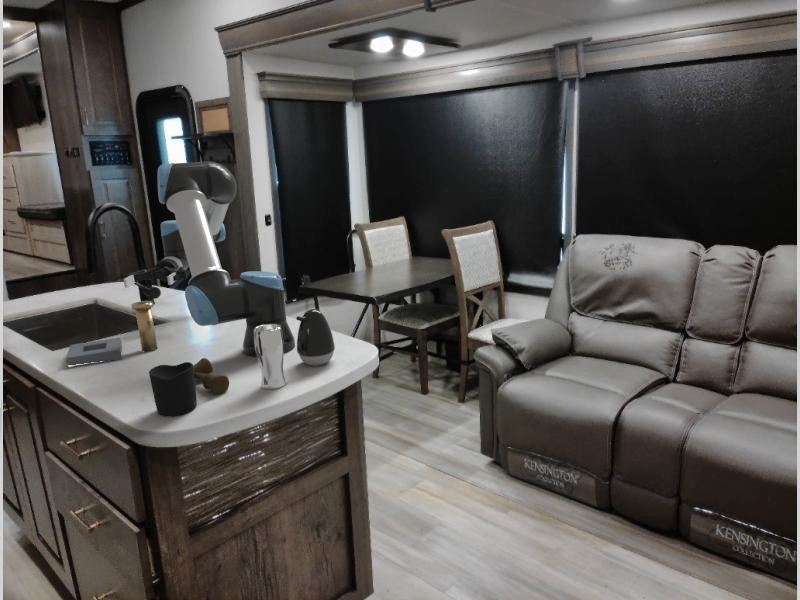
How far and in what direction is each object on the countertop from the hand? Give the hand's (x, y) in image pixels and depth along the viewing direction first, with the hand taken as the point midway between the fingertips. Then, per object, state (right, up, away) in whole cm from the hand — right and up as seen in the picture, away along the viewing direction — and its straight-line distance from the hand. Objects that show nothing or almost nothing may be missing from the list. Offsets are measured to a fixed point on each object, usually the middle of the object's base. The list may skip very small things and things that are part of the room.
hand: (147, 282), depth 186 cm
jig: (-12, -23, -9) cm, 27 cm away
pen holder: (+29, -31, -50) cm, 66 cm away
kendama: (+29, -28, -36) cm, 54 cm away
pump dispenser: (+57, -23, -25) cm, 67 cm away
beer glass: (+48, -27, -39) cm, 68 cm away
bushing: (+3, -21, -5) cm, 22 cm away
